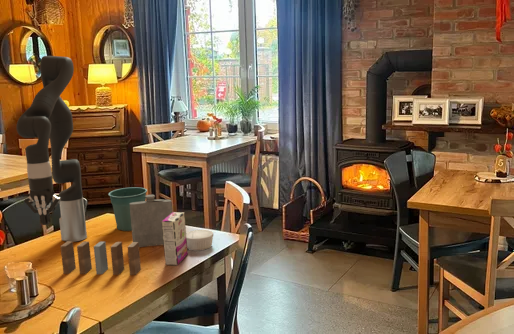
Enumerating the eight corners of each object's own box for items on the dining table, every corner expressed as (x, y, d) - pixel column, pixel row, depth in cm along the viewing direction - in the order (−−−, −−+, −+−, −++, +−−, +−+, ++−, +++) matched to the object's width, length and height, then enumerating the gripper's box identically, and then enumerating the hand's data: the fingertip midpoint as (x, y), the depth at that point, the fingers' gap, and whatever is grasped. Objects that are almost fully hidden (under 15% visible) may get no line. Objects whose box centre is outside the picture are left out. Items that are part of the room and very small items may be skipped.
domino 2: (79, 274, 179) (76, 246, 177) (86, 268, 184) (83, 241, 182) (85, 274, 179) (82, 246, 177) (91, 268, 184) (89, 241, 182)
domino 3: (96, 274, 178) (93, 246, 176) (102, 268, 183) (100, 241, 181) (102, 274, 178) (99, 246, 176) (108, 268, 183) (105, 241, 181)
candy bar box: (175, 254, 195) (172, 211, 192) (188, 254, 194) (185, 212, 191) (164, 265, 184) (160, 220, 181) (177, 265, 183) (174, 221, 180)
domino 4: (113, 274, 177) (110, 246, 176) (118, 269, 182) (116, 241, 180) (118, 274, 177) (116, 246, 175) (124, 269, 182) (121, 241, 180)
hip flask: (133, 248, 203) (128, 198, 199) (133, 244, 207) (129, 195, 203) (174, 244, 206) (170, 195, 202) (174, 241, 210) (170, 192, 206)
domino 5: (130, 275, 177) (127, 246, 175) (135, 269, 181) (132, 241, 180) (135, 275, 176) (133, 247, 174) (140, 269, 181) (138, 242, 179)
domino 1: (63, 273, 180) (60, 246, 178) (70, 268, 185) (67, 241, 183) (68, 273, 180) (65, 246, 178) (75, 268, 185) (72, 241, 183)
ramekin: (179, 246, 203) (178, 233, 202) (204, 240, 210) (203, 227, 209) (194, 254, 194) (193, 240, 193) (219, 247, 201) (218, 234, 200)
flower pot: (135, 234, 220) (132, 197, 217) (103, 231, 226) (100, 195, 223) (157, 223, 235) (154, 188, 232) (127, 220, 241) (124, 186, 238)
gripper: (63, 172, 180) (69, 221, 183) (28, 173, 181) (34, 221, 185) (52, 177, 172) (58, 227, 175) (15, 177, 174) (21, 227, 177)
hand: (45, 224), depth 180 cm, fingers closed
